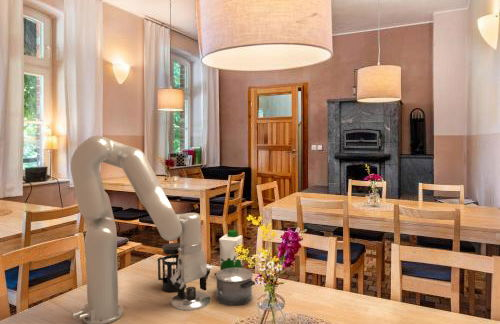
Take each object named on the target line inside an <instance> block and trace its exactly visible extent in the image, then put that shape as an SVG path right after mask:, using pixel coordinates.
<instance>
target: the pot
mask: <svg viewBox="0 0 500 324" xmlns="http://www.w3.org/2000/svg"><path fill="white" fill-rule="evenodd" d="M213 273H214V277H215V278H216V300H217V303H219V304H221V305H224V306H228V307H237V306H243V305H246V304H248V303H250V302H251V300H252V297H253V292H252V291H253V287H252V286H255V285H256V281H254V280H252V279H253V272H252V271H251V270H249V269H247V268H244V267H242V268H226V269H222V270H218V271H216V272H213Z"/></svg>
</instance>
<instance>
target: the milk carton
mask: <svg viewBox="0 0 500 324" xmlns="http://www.w3.org/2000/svg"><path fill="white" fill-rule="evenodd" d="M218 241H219V255H220V256H219V257H220V258H219V259H220V261H219V269H220V270H222V269H226V268H243V259H242V260H237V259H236V257H237V256H238V255H240V254H238V255H236V254H235V249H234V247H237V246H238V245H239V244H241V245H242V246H243V235H241V234H240V235H239V234H238V230H235V229H230V230H227V233H226V234H224V235H222V236H221V237H220V238H219V239H218ZM220 270H219V271H220Z"/></svg>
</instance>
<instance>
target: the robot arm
mask: <svg viewBox="0 0 500 324" xmlns="http://www.w3.org/2000/svg"><path fill="white" fill-rule="evenodd" d="M102 163H104V164H107V165H111V166H113V167H116V168H119V169H122V171H123V172H124V175H125V176H126V177H127V179H128V181H129V183H130V184H131V187H132V188H133V191H134V192H135V194H136V196H137V197H138V199H139V201H140V203H141V204H142V206H143V207H144V208H145V210H146V212H147V213H148V215H149V216H150V218H151V220H152V222H153V224H154V226H155V227H156V230H157V231H158V233H159V235H160V237H161V238H163V240H164V241H167V242H173V241H174V242H175V241H177V240H178V239H179V243H180V248H178V251H179V253H178V255H179V257H178V271H177V272H176V273H175V274H174V275H173V276H172V277H171V278H170V280H171V281H172V283H173V285H175V286H176V287H177V292H176V293H177V294H176V295H178V297H179V298H181V299H182V300H183V299H184V298H185V295H184V292H185V289H184V288H183V286H184V284H185V283H186V284H188V283H190V282H193V281H196V280H199V288H200V290H202V291H203V292H204V291H207V280H208V279H209V278H208V277H209V275H210V273H211V269H212V265H211V264H209V263H207V261H206V259H207V258H206V254H205V251H204V249H203V248H202V227H201V226H202V225H201V224H202V221H201V215H200V214H199V213H197V212H186V213H185V212H184V213H176V212H175V210H174V208H173V206H172V204H171V203H170V201H169V199H168V197H167V194H166V193H165V191H164V188H163V186H162V184H161V182H160V180H159V179H158V178H157V175H156V173H155V171H154V169H153V168H152V166H151V164H150V162H149V160H148V158H147V156H146V155H145V153H144V152H143V150H142V149H139V148H137V147H134V146H130V145H126V144H124V143H121V142H119V141H116V140H113V139H110V138H108V137H105V136H102V135H92V136H89V137H88V138H86V140H84V141H83V142H81V143H80V144H79V145H78V146H77V148H76V149H75V150H74V152H73V154H72V156H71V160H70V173H71V178H72V182H73V183H72V184H73V188H74V193H75V198H76V201H77V202H76V203H77V208H78V211H79V213H80V214H81V216H82V217H83V221H84V225H85V228H86V232H85V236H84V251H85V253H84V254H85V255H84V256H85V270H86V271H85V272H86V273H85V274H86V296H87V298H86V301H87V303H85V304H84V306H83V308H81V309H80V310H77V311H73V312H71V318H72V319H73V320H74V319H77V318H78V319H79V320H82V321H83V322H84V323H85V324H109V323H113V322H114V321H117V320H118V319H120V318H121V317H122V316H123V315H124V308H123V306H122V305H120V304H119V276H118V273H119V272H118V235H117V233H118V232H117V225H116V221H115V217H114V213H113V212H114V211H113V208H112V204H111V200H110V196H109V195H108V193H107V192H106V191H105V187H104V184H103V178H102V174H101V165H102ZM177 278H178V279H179V280H178V282H177V281H176V279H177ZM180 283H181V284H180Z"/></svg>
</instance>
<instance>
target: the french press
mask: <svg viewBox="0 0 500 324" xmlns="http://www.w3.org/2000/svg"><path fill="white" fill-rule="evenodd" d="M178 248H180V242H175V240H174V241H172V242H170V243H165V244H163V245H162V246H161V249H162V253H163V254H164V255H166V256H162V257H161V256H160V257H158V258H157V279H158V281H162V286H161V290H162V291H163V292H165V293H170V294H172V293H177V287H176V286H175V285H173V283H172V281H171V280H170V278H171V277H172V276H173V275H174V274H175V273H176V272H177V271H178V257H179V253H180V252H179V251H178ZM168 259H169V260H170V259H173V261H166V260H168ZM161 263H162V271H161ZM172 266H173V267H172ZM166 267H167V269H166ZM161 272H162V273H161ZM161 274H162V275H161ZM161 276H162V277H161ZM178 280H179V279H178V278H177V279H176V281H177V282H178ZM180 284H181V283H180ZM183 288H184V290H186V288H187V283H185V284H184V286H183Z"/></svg>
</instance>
